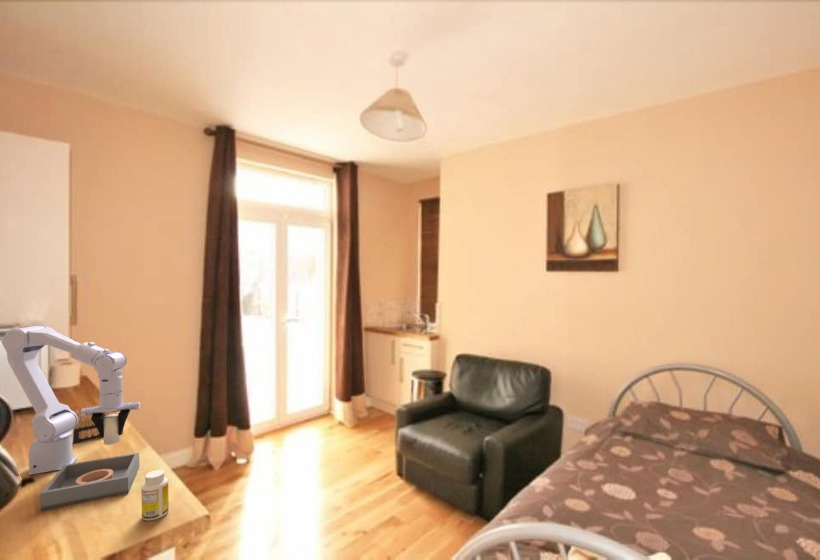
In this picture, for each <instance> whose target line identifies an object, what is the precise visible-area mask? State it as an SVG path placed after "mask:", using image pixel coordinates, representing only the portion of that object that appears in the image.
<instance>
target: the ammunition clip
mask: <svg viewBox="0 0 820 560" xmlns="http://www.w3.org/2000/svg"><path fill="white" fill-rule="evenodd" d="M95 406H97V405H96V404H95V405H94V406H93V407H95ZM90 407H91V406H88V407H87V408H90ZM83 408H84V407H81V410H82V409H83ZM81 410H80V411H81ZM73 412H74V413H75V414H76V415H77V416H78V424H77V426H76V427H75V428H73V429H74V432H72V445H73V444H74V445H75V444H80V443H85V442H87V441H93V440H97V439H101V438H100V434H99V431H98V429H97V427H96V425H95V424H94V423H93V422H92V420H91V418H92V415H86V416H83V417H81V415H80V416H79V410H78V409H77V408H75V410H74V411H73ZM107 415H111V412H110V413H105V416H107Z"/></svg>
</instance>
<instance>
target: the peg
mask: <svg viewBox="0 0 820 560" xmlns="http://www.w3.org/2000/svg"><path fill="white" fill-rule="evenodd" d="M110 414H111V413H110ZM118 414H119V413H113V414H111V415H107V416H105V417H104V418H103V424H104V437H103V445H105V446H106V445H108V446H109V445H114V444H117V443H119V442H120V441H121V435H119V419H118Z"/></svg>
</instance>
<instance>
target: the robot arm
mask: <svg viewBox="0 0 820 560" xmlns="http://www.w3.org/2000/svg"><path fill="white" fill-rule="evenodd" d="M1 344H2V347H3V348H4V349H5V352H6V357H7V362H8V364H9V366H10V368H11V370H12V372H13V374H14V375H15V377H16V379H17V381H18V382H19V384H20V386H21V388H22V390H23V391H24V393H25V396H26V397H27V399H28V401H29V403H30V405H31V406H32V408H33V410H34V412H35V415H34V416H33V417H32V420H31V421H30V424H31V426H32V428H33V429H32V434H33V436H34V438H35V439H34V440H33V441H32V442H31V444H30V446H29V450H28V451H29V452H28V457H29V458H28V464H29V467H28V469H29V470H28V471H29V472H28V476H30V475H37V474H41V473H42V474H43V473H48V472H55V471H59V470H60V469H61V468H62V467H63V465H67V464H73V463H75V462H76V460H77V459H78V456H77V455H75V456H73V432H74V429H73V428H75V427H76V426H77V424H78V416H79V415H78V416H77V415H76V414H75V413H74V412H75V411H73V410H72V409H71V408H70V406H69V405H67V404H64V403H62V402H60V401H59V400H58V399H57V397H56V395H55V393H54V391H53V389H52V388H51V385H50V384H49V382H48V380H47V379H46V376H45V374H44V373H43V371H42V369H41V368H40V366H39V364H38V362H37V360H36V357H37V355H38V353H39V352H40V351H42V350H43V348H44V347H45V346H49V347H52V348H54V349H58V350H60V351H61V350H62V351H64V352H66V353H69V354H72V355H73V358H74V360H77V361H78V362H81V363H84V364H86V365H88V366H91V367H93V369H94V370H95V372H96V373H97V374H98V375H97V377H98V379H99V380H98V381H99V387H98V388H99V405H96V406H95V405H94V406H95V407H94V406H89V407H90V408H88V407H86V408H85V407H82V408H83V409H82V408H81V409H82V410H80V416H81V417H83V416H85V417H87V415H91V416H92V418H91V420H92V424H93V423H94V424H95V425H96V427H97V429H98V431H99V434H100V438H99V439H104V424H103V418H104V417H105V414H106V413H110V414H111V413H117V412H118V413H117V414H118V419H119V435H120V436H122V435H123V433H124V428H125V424H126V422H127V419H128V416H129V414H130V413H131V411H133V410H136V411H139V410H140V409H141V402H140V401H135V402H133V401H132V402H130V401H129V402H124V399H123V398H124V395H123V390H124V388H123V387H124V385H123V384H124V383H123V378H124V377H123V375H124V374H123V368H124V367H126V365H127V360H128V359H127V356H126V355H125V354H124V353H123V352H121V351H120V350H115V351H110V349H108V348H103V347H100V346H98V345H96V342H93V341H90V342H87V341H85V342H83V343H80V342H78V341H76V340H74V339H71V338H70V337H67V336H65V335H64V334H62V333H59V332H58V331H56V330H55V329H54V328H53V327H50V326H49V327H48V326H47V325H45V324H37V325H34V326H27V327H26V326H25V327H21V328H20V327H19V328H17V327H16V328H12V329H9V330H8V331H6V333H5V334H4V337H2V340H1Z"/></svg>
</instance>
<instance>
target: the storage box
mask: <svg viewBox="0 0 820 560" xmlns="http://www.w3.org/2000/svg"><path fill="white" fill-rule="evenodd" d="M139 469H140V452H135V453H128V454H122V455H115V456H110V457H105V458H97V459H93V460H86V461H79V462H74V463H73V464H67V465H63V467H62V468H61V469H60V470H57V471H58V472H56V474H55V475H54V476H53V478H52V479H51V480H50V481H48V484H47V485H46V486H45V487H44V488H43V490H42V491H41V492H40V493H39V495H40V496H39V497H40V499H39V500H40V503H39V504H40V506H39V507H40V508H39V509H40V512H44V511H51V510H53V509H54V510H55V509H59V507H60V508H64V506H65V507H68V505H70V506H73V505H74V506H75V505H78V504H83V503H84V504H86V503H88V502H89V503H90V502H93V501H94V502H95V501H98V500H99V501H100V500H103V499H107V498H114V497H118V496H123V495H129V493H130V491H131V488H132V485H133V483H134V481H135V479H136V476H137V474H138V472H137V471H139Z"/></svg>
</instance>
